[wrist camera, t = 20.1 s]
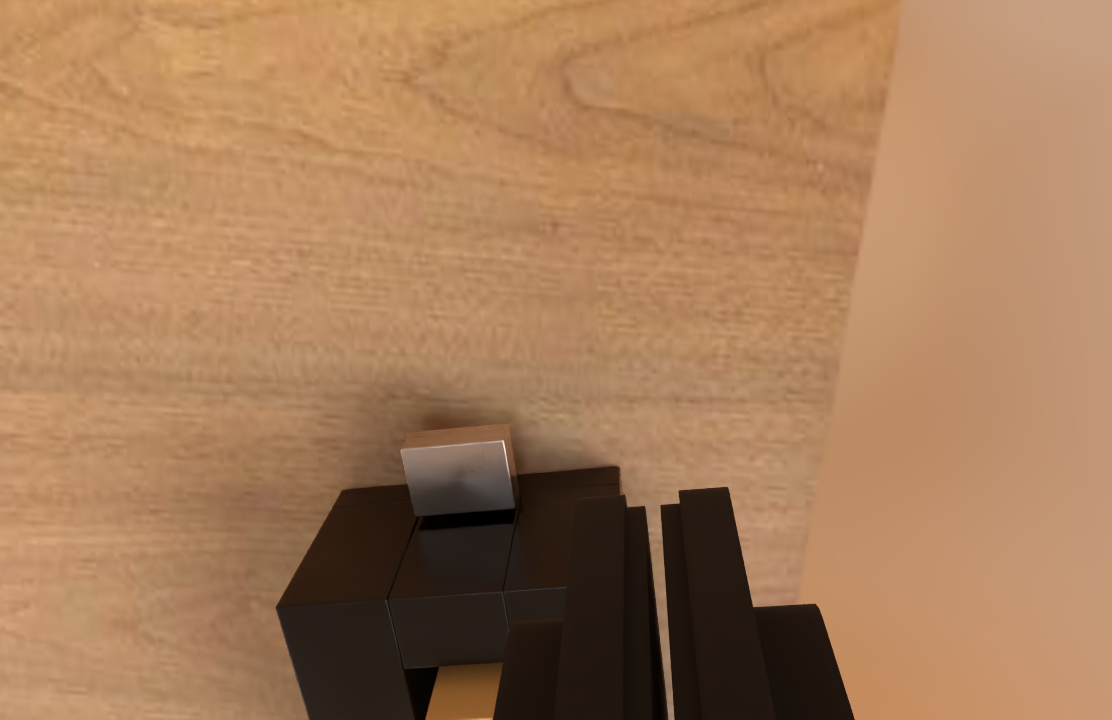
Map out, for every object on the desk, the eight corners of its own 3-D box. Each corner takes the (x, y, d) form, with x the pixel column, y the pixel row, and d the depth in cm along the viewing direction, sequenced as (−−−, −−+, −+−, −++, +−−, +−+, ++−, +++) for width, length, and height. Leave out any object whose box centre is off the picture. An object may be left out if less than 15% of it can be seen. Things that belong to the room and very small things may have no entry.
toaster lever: (508, 422, 33) (503, 440, 32) (519, 489, 34) (515, 509, 33) (407, 431, 34) (399, 449, 32) (422, 497, 35) (414, 518, 33)
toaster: (619, 465, 36) (621, 582, 28) (653, 757, 42) (662, 917, 34) (341, 489, 37) (273, 607, 30) (411, 769, 43) (369, 927, 35)
